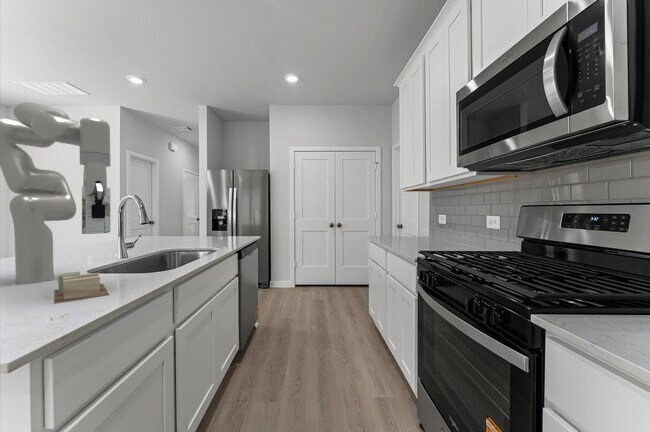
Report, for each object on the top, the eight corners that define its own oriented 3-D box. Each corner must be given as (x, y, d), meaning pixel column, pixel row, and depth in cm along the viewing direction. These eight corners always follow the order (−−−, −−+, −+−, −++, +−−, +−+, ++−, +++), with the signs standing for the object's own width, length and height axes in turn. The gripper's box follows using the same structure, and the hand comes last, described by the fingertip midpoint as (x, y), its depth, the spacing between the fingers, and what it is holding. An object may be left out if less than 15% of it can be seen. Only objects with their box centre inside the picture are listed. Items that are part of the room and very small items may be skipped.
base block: (63, 293, 89) (62, 276, 89) (97, 288, 94) (96, 272, 94) (63, 299, 83) (63, 281, 83) (100, 294, 88) (99, 277, 88)
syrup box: (89, 232, 95) (88, 186, 95) (111, 232, 97) (110, 187, 97) (81, 234, 90) (80, 185, 89) (105, 233, 91) (104, 185, 91)
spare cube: (58, 289, 93) (58, 273, 93) (79, 286, 96) (79, 271, 96) (58, 293, 89) (58, 276, 89) (80, 290, 92) (80, 273, 92)
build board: (54, 294, 93) (54, 290, 93) (102, 288, 101) (102, 283, 101) (54, 309, 79) (53, 303, 79) (109, 300, 87) (109, 294, 87)
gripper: (76, 162, 96) (77, 217, 97) (83, 155, 84) (84, 218, 84) (105, 164, 101) (106, 217, 102) (115, 158, 89) (116, 218, 89)
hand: (96, 217), depth 93 cm, fingers closed on syrup box, 7 cm apart
